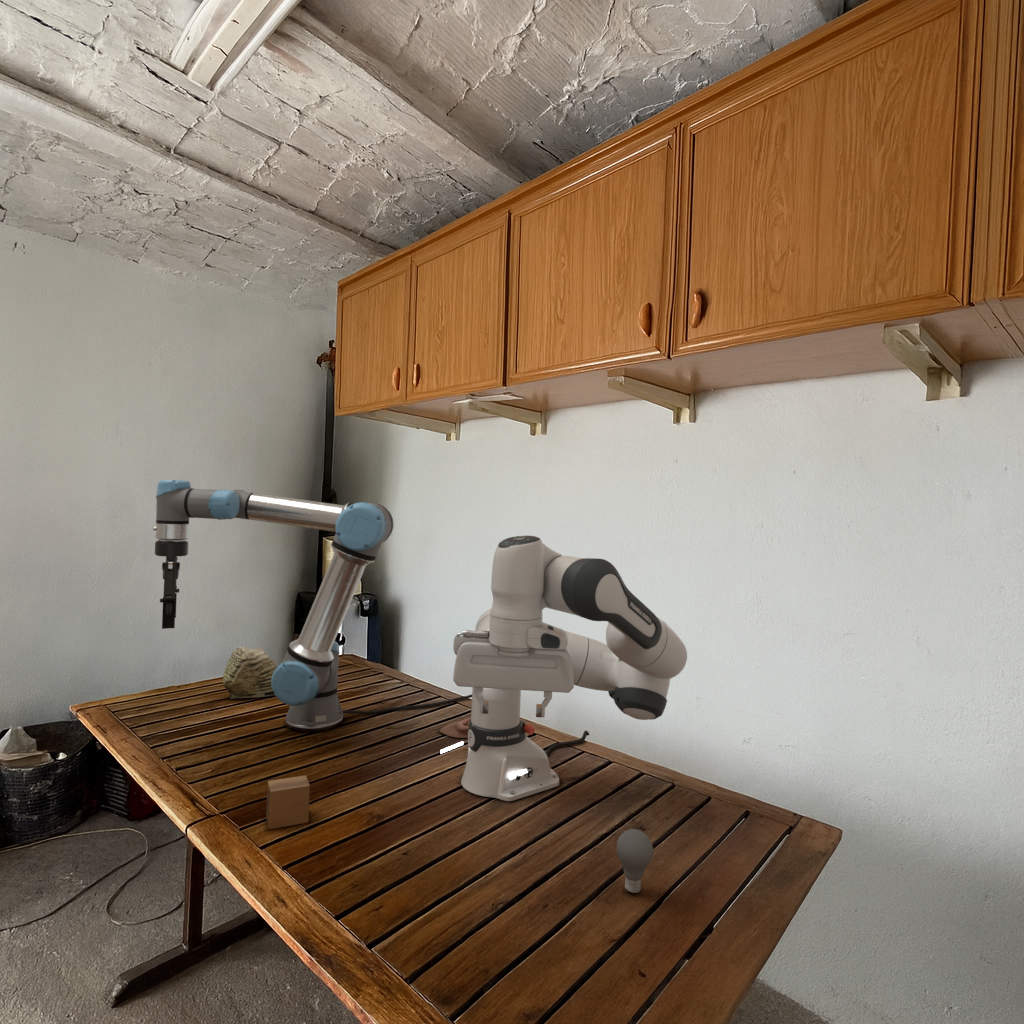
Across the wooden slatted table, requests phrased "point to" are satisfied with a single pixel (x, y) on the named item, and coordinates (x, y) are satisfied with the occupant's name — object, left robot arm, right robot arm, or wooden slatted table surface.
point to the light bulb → (634, 857)
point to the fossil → (249, 673)
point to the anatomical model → (457, 729)
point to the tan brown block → (288, 802)
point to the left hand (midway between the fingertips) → (169, 623)
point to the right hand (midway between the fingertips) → (512, 714)
